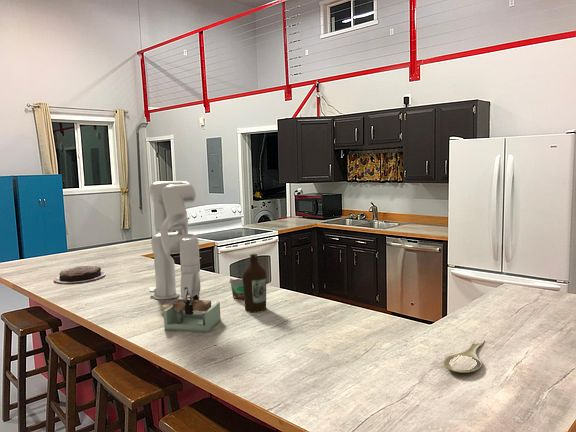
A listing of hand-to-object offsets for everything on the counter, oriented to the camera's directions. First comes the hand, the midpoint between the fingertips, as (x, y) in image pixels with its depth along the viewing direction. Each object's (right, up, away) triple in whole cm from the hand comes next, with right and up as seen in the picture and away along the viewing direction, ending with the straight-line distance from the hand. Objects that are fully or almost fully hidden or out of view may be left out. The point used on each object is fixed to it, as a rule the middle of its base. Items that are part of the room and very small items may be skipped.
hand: (192, 311), depth 191 cm
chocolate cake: (-84, +2, +86) cm, 120 cm away
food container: (+17, -2, +36) cm, 40 cm away
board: (0, +1, 0) cm, 1 cm away
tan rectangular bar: (-11, -5, +15) cm, 19 cm away
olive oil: (+24, -3, +19) cm, 31 cm away
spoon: (+99, -8, -36) cm, 105 cm away
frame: (0, -6, +1) cm, 6 cm away
